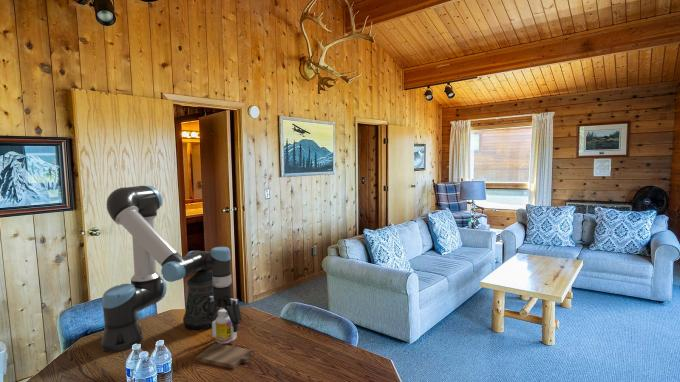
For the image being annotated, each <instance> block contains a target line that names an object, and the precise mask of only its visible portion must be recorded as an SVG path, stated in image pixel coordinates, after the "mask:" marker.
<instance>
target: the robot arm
mask: <svg viewBox="0 0 680 382" xmlns="http://www.w3.org/2000/svg"><path fill="white" fill-rule="evenodd" d="M162 204H163V198H162V195H161V193H160V191H159V190H157V188H156V187H155V186H153V185H152V186H151V185H135V186H129V187H126V186H125V187H124V186H123V187H120V188H116V189H115V190H113V191H112V192H111V193H110V194H109V195H108V197H107V200H106V210H107V213H108V215H109V216H110V218H111V220H112V221H113V222H114V223H115V224H116V225H121V226H122V227H123V228H124V229H125V230H126V231H127V232H128V234H130V235H131V237H132V253H133V255H132V256H133V270H134V272H133V273H134V274H133V275H132V276H131V278H130V283H121V284H119V285H117V284H116V285H115V286H113V287H110V288H108V289H107V290H106V291H105V292H104V293H103V295H102V310H103V323H104V324H103V325H104V331H103V333H102V334H103V335H102V338H101V341H100V349H101V348H102V349H103V350H105V351H104V352H106V351H116V352H121V351H120V350H122V351H125V350H124V349H126V350H128V349H127V348H129V349H131V348H132V347H131V346H132V345H133V344H135V343H139V344H141V342H142V341H143V340H144V334H143V333H144V332H143V331H142V328H141V327H140V325H139V323H138V317H137V316H138V314H137V313H138V312H141V311H142V310H144V309H146V308H148V307H151V306H153V305H154V306H155V305H156V304H157V303H159V302H160V301H161V300H163V299H164V297H165V296H166V293H167V283H166V282H169V283H172V282H173V283H174V282H176V281H179V280H182V279H183V278H186V277H187V276H191V275H192V274H193V275H194V274H195V273H196V272H197V271H200V270H209V271H211V272H212V281H213V295H214V296H213V295H212V296H210V297H208V308H207V316H206V319H207V320H208V319H209V320H210V321H211V328H210V329H212V331H211V332H212V333H211V334H212V338H216V320H215V319H216V317H217V314H218V311H219V310H221V308H222V309H225V310H226V311H227V313H228V315H229V318H230V320H231V322H232V325H231V340H232V341H235V340H237V338H238V336H237V335H238V333H237V332H238V331H239V326H238V325H239V324H240V323H242V322H243V319H242V315H241V311H240V306H239V298H233V295H232V294H233V286H232V285H233V284H232V281H233V279H232V269H231V268H232V267H231V266H232V265H231V263H232V262H231V259H232V256H231V251H230V248H229V247H228V246H215V247H213V248H211V250H210V251H206V250H205V251H204V250H190V251H188V252H187V253H186V255H185V256H183V257H182V255H181V254H180V253H179V252H178V251H177V250H176V249H175V248H174V247H173V246H172V245H171V244H170V243H169V242H168V241H167V239H165V238H164V237H163V235H161V234H160V233H159V232H158V231H157V229H156V228H155V224H154V219H155V218H156V217H158V210H159V209H160V208H161V206H162ZM156 263H158V264H159V265H160V266H161V270H160V272H161V274H160V273H159V272H157V264H156ZM161 276H162V277H161ZM214 301H215V302H216V303H215V306H214ZM213 308H214V310H213ZM142 339H143V340H142ZM232 341H231V342H232ZM102 349H101V350H102ZM103 350H102V351H103Z"/></svg>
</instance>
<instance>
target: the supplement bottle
mask: <svg viewBox="0 0 680 382" xmlns="http://www.w3.org/2000/svg"><path fill="white" fill-rule="evenodd" d="M231 325H232V322H231V320H230V318H229V315H228V313H227V311H226V310H225V308H222V309H221V308H220V309H219V311H218V317H217V318H216V336H215V339H216V343H217V344H222V345H227V344H229V343H231V342H232V340H231Z"/></svg>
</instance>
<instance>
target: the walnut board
mask: <svg viewBox="0 0 680 382" xmlns="http://www.w3.org/2000/svg"><path fill="white" fill-rule="evenodd" d="M250 355H252V350H251V349H248V348H242V347H238V346H233V345H227V344H219V343H217V342H216V343H213V344H211V345H210V346H209V347H207V348H206V349H205V350H203V351H202V352H201V353H199V354H198V355H196V356H195V361H196V362H200V363H204V364H210V365H213V366H214V365H215V366H220V367H222V368H223V367H224V368H229V369H236V368H237V366H239V365H240V364H241V363H243V364H248V363H249V362H250V361H251V357H250Z"/></svg>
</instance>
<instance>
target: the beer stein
mask: <svg viewBox="0 0 680 382" xmlns="http://www.w3.org/2000/svg"><path fill="white" fill-rule="evenodd" d="M186 285H187V287H188V291H187V301H186V307H185V312H184V315H183V317H182V322H183V326H184V329H185V330H188V331H192V332H194V331H196V332H200V331H204V330H210V329H212V328H211V321H210V320H209V319H208V320H207V319H206V316H207V308H208V297H210V296H212V295H213V281H212V271H211V270H200V271H197V272H195V273H193V275H192V276H190V277H189V279H187V281H186ZM213 296H214V295H213ZM215 303H216V302H215V301H214V306H215ZM213 310H214V308H213ZM217 317H218V314H217ZM217 317H216V318H217ZM215 320H216V319H215Z"/></svg>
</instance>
